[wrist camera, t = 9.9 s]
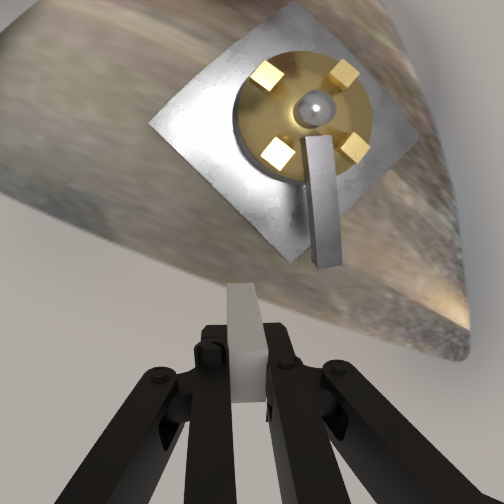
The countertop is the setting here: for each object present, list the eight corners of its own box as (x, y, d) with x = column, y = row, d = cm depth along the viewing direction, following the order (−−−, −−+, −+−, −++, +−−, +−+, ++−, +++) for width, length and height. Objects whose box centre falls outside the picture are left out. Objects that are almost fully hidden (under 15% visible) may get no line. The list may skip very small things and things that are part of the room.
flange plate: (152, 124, 29) (141, 119, 25) (292, 6, 26) (298, -11, 22) (288, 259, 34) (294, 272, 30) (413, 138, 31) (433, 137, 27)
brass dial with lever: (230, 66, 24) (229, 42, 18) (350, 61, 24) (375, 40, 19) (255, 258, 29) (260, 281, 23) (369, 242, 29) (397, 260, 23)
